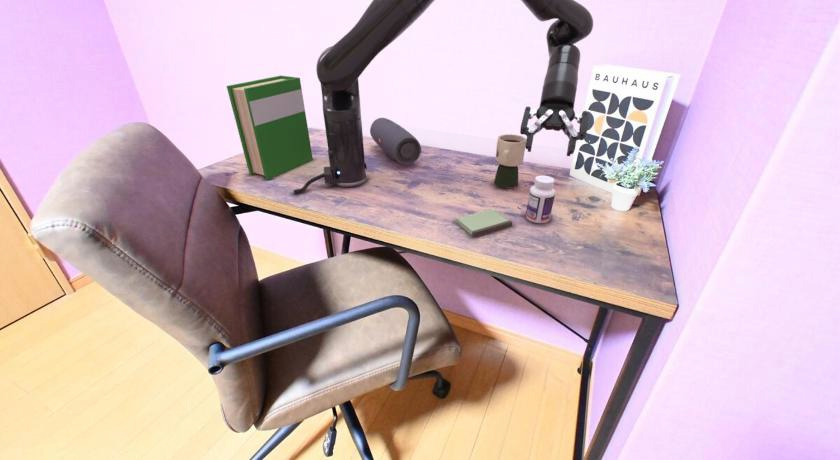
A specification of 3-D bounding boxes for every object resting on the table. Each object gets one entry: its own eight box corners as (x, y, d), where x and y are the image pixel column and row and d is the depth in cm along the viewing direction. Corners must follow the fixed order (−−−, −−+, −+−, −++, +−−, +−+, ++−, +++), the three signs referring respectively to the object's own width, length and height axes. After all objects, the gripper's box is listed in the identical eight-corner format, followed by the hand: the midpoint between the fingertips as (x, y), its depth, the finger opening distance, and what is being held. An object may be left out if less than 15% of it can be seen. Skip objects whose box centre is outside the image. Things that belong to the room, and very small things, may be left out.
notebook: (473, 237, 78) (474, 232, 77) (456, 222, 83) (456, 217, 82) (511, 226, 82) (512, 221, 81) (492, 212, 87) (493, 208, 86)
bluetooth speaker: (369, 147, 125) (367, 117, 120) (394, 143, 128) (393, 114, 123) (393, 171, 108) (392, 137, 102) (422, 166, 111) (422, 133, 106)
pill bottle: (548, 213, 87) (556, 174, 81) (550, 225, 82) (559, 185, 77) (524, 211, 87) (531, 173, 82) (525, 222, 83) (532, 183, 78)
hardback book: (267, 180, 102) (246, 88, 90) (249, 174, 105) (226, 86, 93) (312, 159, 115) (299, 77, 103) (295, 155, 118) (280, 75, 106)
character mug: (499, 175, 105) (504, 130, 98) (523, 180, 102) (531, 134, 95) (486, 190, 97) (491, 142, 90) (513, 196, 94) (520, 147, 87)
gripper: (529, 77, 85) (517, 141, 82) (595, 81, 81) (586, 148, 78) (527, 96, 92) (516, 156, 89) (588, 100, 88) (579, 163, 85)
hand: (548, 152), depth 83 cm, fingers open, 8 cm apart
